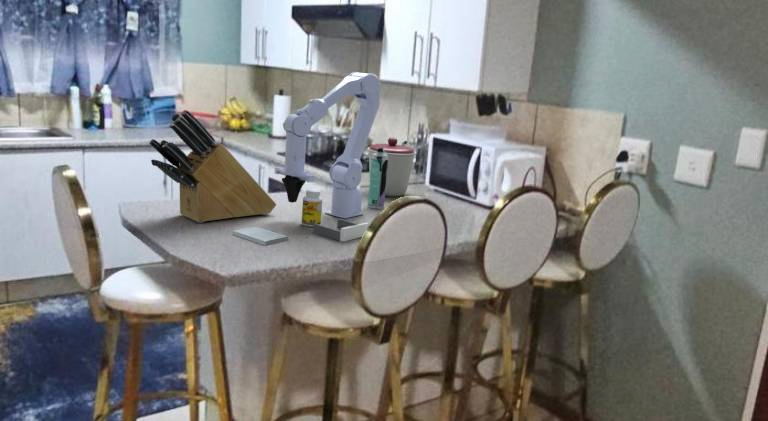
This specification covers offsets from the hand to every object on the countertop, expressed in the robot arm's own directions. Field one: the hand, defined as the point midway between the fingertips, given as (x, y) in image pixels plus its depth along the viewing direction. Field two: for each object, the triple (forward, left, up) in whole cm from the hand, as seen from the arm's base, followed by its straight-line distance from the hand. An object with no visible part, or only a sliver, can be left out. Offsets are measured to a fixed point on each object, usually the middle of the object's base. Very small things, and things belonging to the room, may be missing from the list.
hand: (292, 201), depth 185 cm
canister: (-56, -7, -5) cm, 57 cm away
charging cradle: (0, +19, -5) cm, 20 cm away
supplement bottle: (0, +8, -5) cm, 10 cm away
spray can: (-35, +4, -5) cm, 36 cm away
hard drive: (+20, +9, -6) cm, 23 cm away
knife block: (+17, -14, -5) cm, 23 cm away
